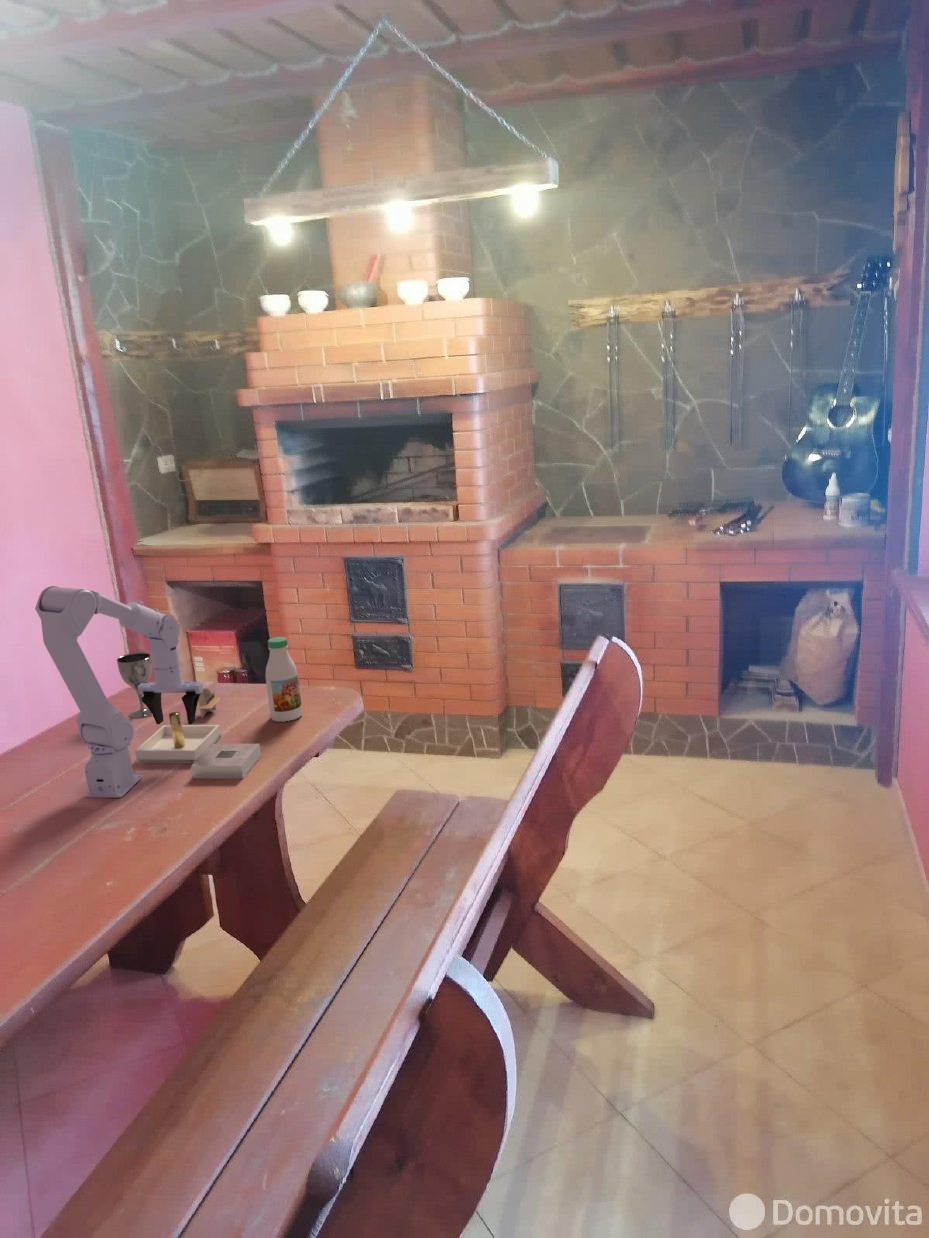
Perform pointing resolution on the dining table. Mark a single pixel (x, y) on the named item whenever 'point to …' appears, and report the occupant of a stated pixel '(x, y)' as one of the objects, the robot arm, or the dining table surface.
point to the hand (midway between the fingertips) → (175, 722)
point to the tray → (164, 751)
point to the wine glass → (136, 676)
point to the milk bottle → (282, 682)
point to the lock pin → (177, 730)
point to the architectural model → (207, 701)
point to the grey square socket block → (226, 761)
